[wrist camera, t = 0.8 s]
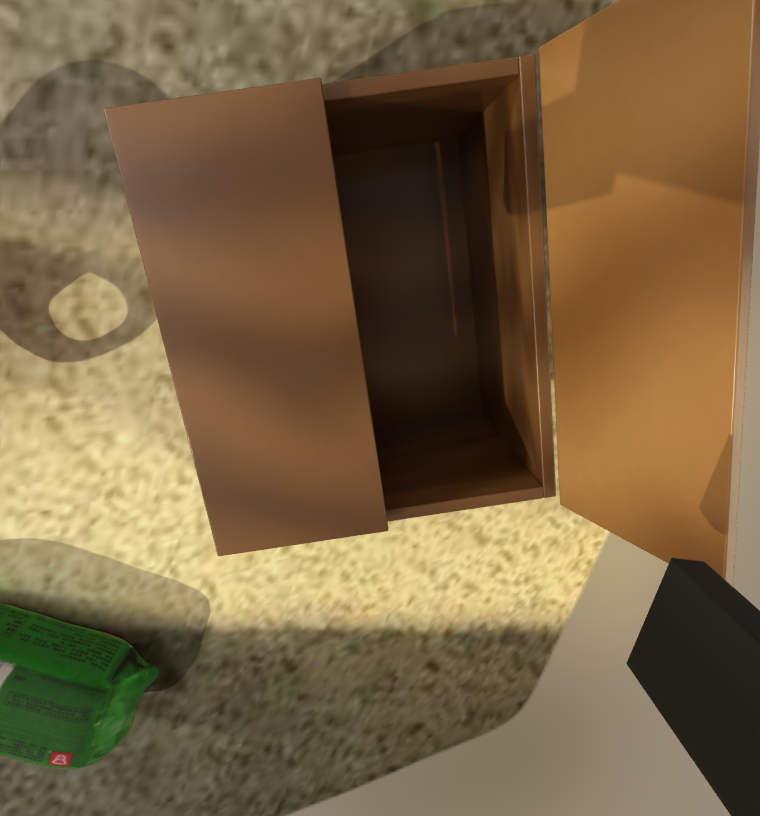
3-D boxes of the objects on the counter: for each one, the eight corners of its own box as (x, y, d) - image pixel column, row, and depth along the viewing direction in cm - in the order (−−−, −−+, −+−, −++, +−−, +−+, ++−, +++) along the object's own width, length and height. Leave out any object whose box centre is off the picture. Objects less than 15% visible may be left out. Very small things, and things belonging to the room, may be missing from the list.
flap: (759, -85, 10) (773, -83, 10) (538, 47, 16) (549, 47, 16) (724, 594, 14) (734, 589, 14) (559, 504, 20) (568, 501, 20)
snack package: (-88, 556, 31) (-172, 614, 26) (174, 637, 34) (142, 705, 29) (-109, 650, 33) (-192, 722, 28) (141, 722, 36) (106, 799, 30)
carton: (203, 165, 26) (99, 106, 16) (465, 128, 27) (544, 43, 16) (263, 449, 31) (216, 558, 20) (489, 416, 31) (564, 506, 20)
